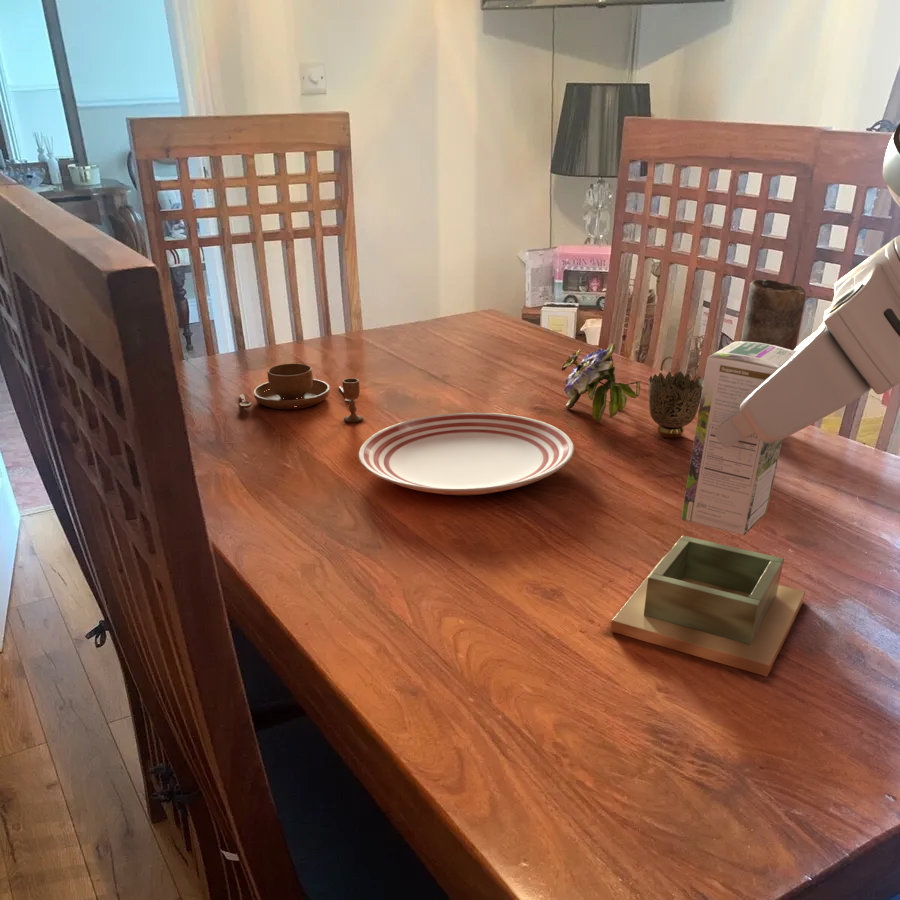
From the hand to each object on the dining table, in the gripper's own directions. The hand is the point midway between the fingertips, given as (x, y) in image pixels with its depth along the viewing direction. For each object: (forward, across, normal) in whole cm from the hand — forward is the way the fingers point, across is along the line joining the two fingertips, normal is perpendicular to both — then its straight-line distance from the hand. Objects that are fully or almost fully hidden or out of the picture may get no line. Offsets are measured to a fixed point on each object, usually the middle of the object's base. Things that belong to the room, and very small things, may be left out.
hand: (733, 425), depth 71 cm
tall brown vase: (+19, -52, +7) cm, 56 cm away
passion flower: (+35, -50, -9) cm, 61 cm away
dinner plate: (+40, -20, -13) cm, 46 cm away
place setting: (+64, -28, -38) cm, 80 cm away
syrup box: (+6, 0, +6) cm, 9 cm away
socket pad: (+13, 0, +14) cm, 18 cm away
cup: (+26, -44, 0) cm, 52 cm away
